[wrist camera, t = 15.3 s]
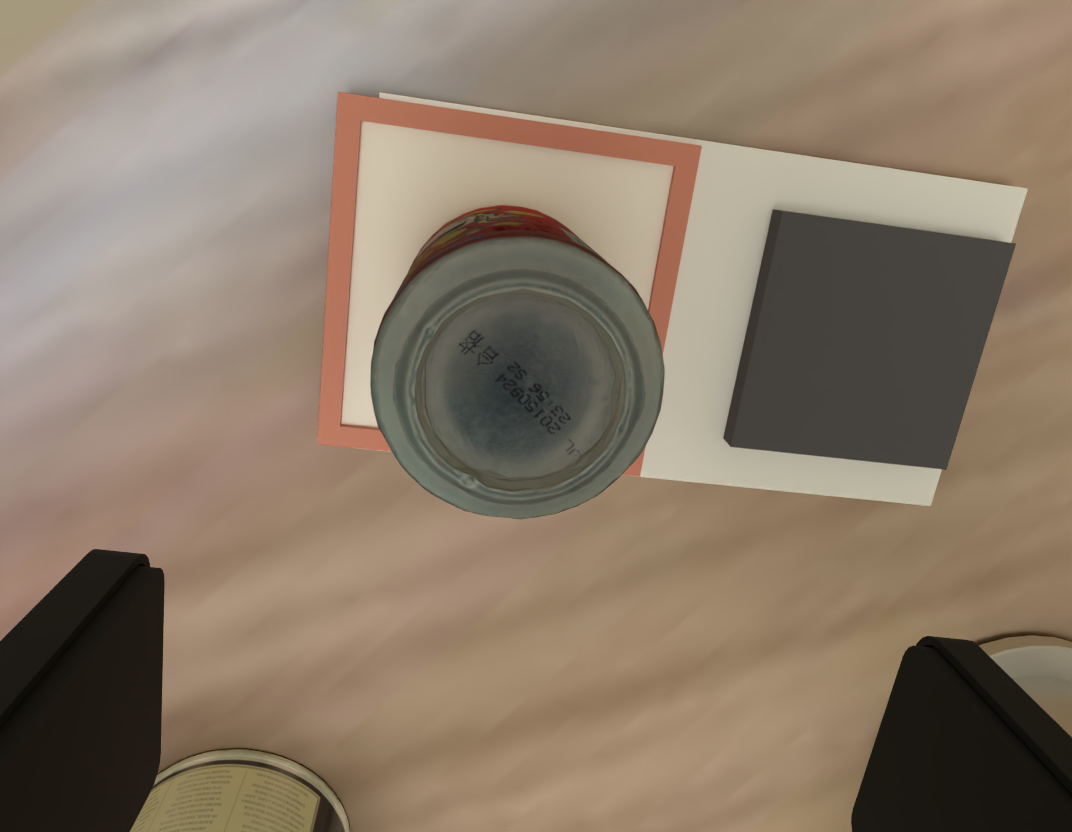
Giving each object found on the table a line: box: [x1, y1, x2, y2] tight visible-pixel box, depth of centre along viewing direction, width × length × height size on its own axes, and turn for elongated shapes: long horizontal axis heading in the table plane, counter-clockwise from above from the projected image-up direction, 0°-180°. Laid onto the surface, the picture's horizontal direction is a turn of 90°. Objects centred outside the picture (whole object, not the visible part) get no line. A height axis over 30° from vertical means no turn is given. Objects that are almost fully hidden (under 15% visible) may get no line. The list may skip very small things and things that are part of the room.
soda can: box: [370, 205, 665, 519], centre depth 24 cm, size 7×7×12 cm
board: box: [358, 92, 1028, 506], centre depth 32 cm, size 24×13×1 cm, turn 82°
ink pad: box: [723, 209, 1016, 470], centre depth 31 cm, size 9×9×1 cm
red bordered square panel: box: [317, 92, 702, 477], centre depth 30 cm, size 13×13×1 cm
